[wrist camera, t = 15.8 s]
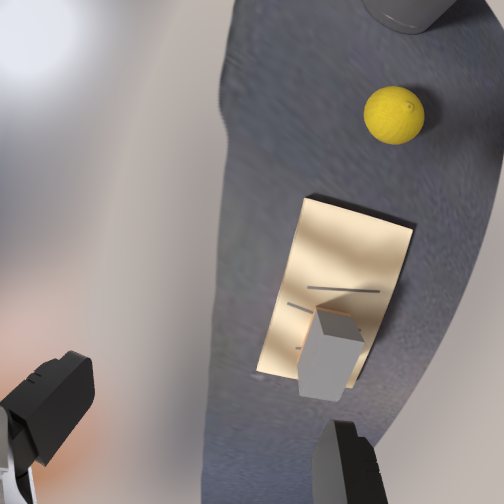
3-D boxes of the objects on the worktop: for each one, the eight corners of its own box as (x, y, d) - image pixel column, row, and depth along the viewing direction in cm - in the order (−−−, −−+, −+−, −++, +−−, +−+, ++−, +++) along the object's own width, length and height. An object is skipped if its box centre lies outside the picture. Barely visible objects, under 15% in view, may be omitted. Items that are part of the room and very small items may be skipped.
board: (304, 197, 31) (305, 198, 30) (408, 228, 31) (412, 230, 29) (257, 365, 35) (256, 371, 34) (350, 382, 35) (352, 388, 34)
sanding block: (315, 306, 32) (323, 334, 26) (350, 313, 32) (365, 342, 26) (296, 360, 34) (299, 395, 27) (329, 367, 33) (338, 401, 27)
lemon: (371, 88, 28) (397, 63, 20) (411, 120, 28) (446, 105, 20) (345, 126, 29) (367, 109, 21) (387, 158, 29) (420, 152, 21)
